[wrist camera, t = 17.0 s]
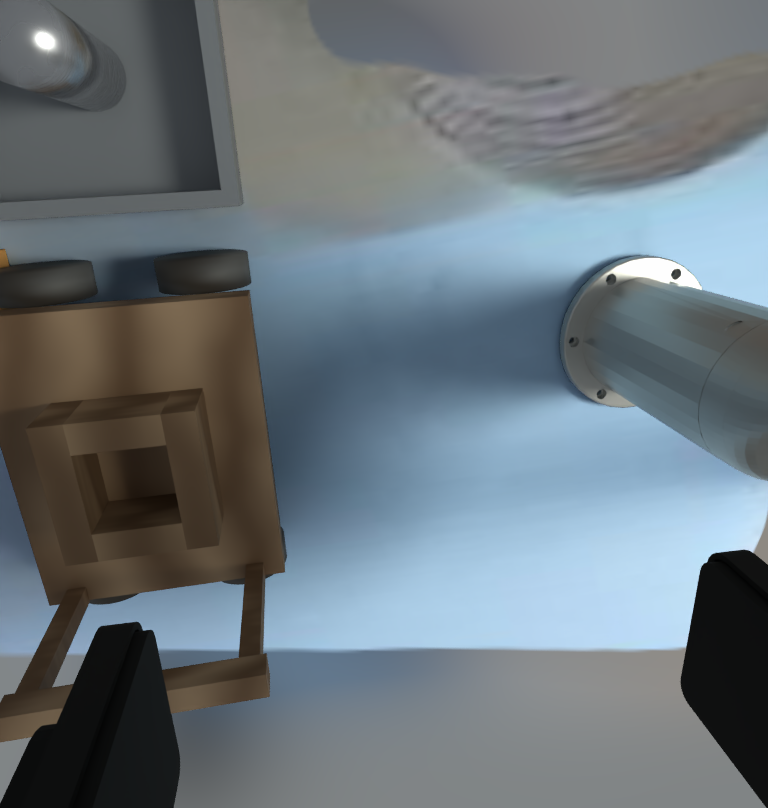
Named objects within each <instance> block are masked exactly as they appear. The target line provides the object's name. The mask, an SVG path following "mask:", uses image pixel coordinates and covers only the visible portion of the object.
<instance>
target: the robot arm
mask: <svg viewBox="0 0 768 808" xmlns="http://www.w3.org/2000/svg"><path fill="white" fill-rule="evenodd" d="M607 276H608V279H607V280H606V278H607ZM571 338H572V339H571ZM570 339H571V341H570V342H569V340H570ZM560 354H561V360H562V363H563V367H564V370H565V372H566V374H567V375H568V377H569V379H570V381H571V382H572V383H573V384H574V386H575V387H576V388H577V389H578V390H579V391H580V392H582V393H583V394H584V395H586V396H587V397H588V398H590V399H592V400H593V401H595V402H597V403H599V404H603V405H606V406H610V407H620V408H626V407H635V406H637V407H639V408H640V409H642V410H643V411H645V412H647V413H648V414H650V415H651V416H653V417H654V418H656V419H657V420H659V421H661V422H662V423H664V424H665V425H667V426H668V427H670V428H671V429H673V430H674V431H676V432H678V433H679V434H681V435H682V436H684V437H685V438H687V439H688V440H690V441H692V442H693V443H695V444H696V445H698V446H699V447H701V448H702V449H704V450H706V451H707V452H709V453H710V454H712V455H713V456H715V457H717V458H718V459H720V460H722V461H723V462H725V463H726V464H728V465H729V466H731V467H733V468H734V469H736V470H738V471H740V472H742V473H744V474H746V475H748V476H751V477H754V478H757V479H760V480H765V481H768V308H767V307H764V306H760V305H756V304H753V303H749V302H745V301H742V300H738V299H734V298H730V297H727V296H723V295H719V294H716V293H712V292H708V291H705V290H703V289H702V287H701V285H700V283H699V282H698V280H697V279H696V278H695V276H694V275H693V274H692V273H691V272H690V271H689V270H687V269H686V268H685V267H684V266H682V265H680V264H678V263H677V262H675V261H673V260H669V259H666V258H662V257H656V256H649V255H643V256H632V257H628V258H625V259H621V260H618V261H616V262H614V263H612V264H610V265H608V266H606V267H604V268H603V269H601V270H600V271H599V272H597V273H596V274H595V275H593V276H592V277H591V278H590V279H589V280H588V281H587V282H586V283H585V284H584V285H583V286H582V287H581V288H580V290H579V291H578V293H577V294H576V296H575V297H574V298H573V300H572V302H571V304H570V306H569V308H568V310H567V312H566V314H565V317H564V321H563V324H562V328H561V335H560ZM681 689H682V692H683V695H684V697H685V699H686V701H687V703H688V704H689V705H690V707H691V708H692V709H693V711H694V712H695V713H696V715H697V716H698V717H699V719H700V720H701V721H702V723H703V724H704V725H705V727H706V728H707V729H708V731H709V732H710V733H711V735H712V736H713V737H714V739H715V740H716V741H717V743H718V744H719V745H720V747H721V748H722V749H723V751H724V752H725V753H726V754H727V756H728V757H729V759H730V760H731V761H732V763H733V764H734V765H735V767H736V768H737V769H738V771H739V772H740V773H741V774H742V776H743V777H744V778H745V780H746V781H747V782H748V784H749V785H750V787H751V788H752V789H753V791H754V792H755V793H756V794H757V796H758V797H759V799H760V800H761V801H762V803H763V804H764V805H765V806H766V808H768V565H767V564H766V563H765V562H764V561H762V560H761V559H760V558H759V557H758V556H756V555H755V554H754V553H752V552H750V551H748V550H737V551H729V552H721V553H715V554H712V555H711V556H710V557H709V559H708V562H707V563H705V564H703V566H702V567H701V570H700V575H699V581H698V586H697V592H696V597H695V603H694V608H693V614H692V619H691V625H690V631H689V636H688V642H687V647H686V653H685V659H684V664H683V669H682V675H681ZM179 774H180V755H179V749H178V744H177V739H176V735H175V729H174V725H173V720H172V715H171V710H170V706H169V701H168V696H167V691H166V686H165V682H164V677H163V672H162V667H161V663H160V658H159V653H158V648H157V643H156V639H155V635H154V632H153V631H152V630H146V631H143V630H142V626H141V625H140V623H139V622H132V623H123V624H115V625H107V626H101V627H99V628H98V630H97V632H96V633H95V636H94V638H93V640H92V643H91V645H90V647H89V650H88V652H87V654H86V656H85V659H84V661H83V664H82V666H81V669H80V670H79V673H78V675H77V677H76V680H75V682H74V684H73V687H72V689H71V691H70V693H69V696H68V698H67V700H66V703H65V705H64V707H63V710H62V712H61V714H60V717H59V719H58V721H57V724H50V725H43V726H41V727H40V728H38V729H37V730H36V731H35V733H34V734H33V736H32V738H31V740H30V741H29V743H28V745H27V747H26V749H25V752H24V754H23V756H22V758H21V760H20V763H19V765H18V767H17V769H16V771H15V773H14V775H13V777H12V779H11V782H10V784H9V786H8V788H7V790H6V792H5V795H4V797H3V799H2V801H1V803H0V808H174V802H175V797H176V792H177V786H178V780H179Z"/></svg>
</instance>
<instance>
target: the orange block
mask: <svg viewBox="0 0 768 808" xmlns="http://www.w3.org/2000/svg"><path fill="white" fill-rule="evenodd" d="M3 267H9V262H8V258H7V255H6V251H5V249H0V268H3ZM7 309H20V308H0V310H7Z"/></svg>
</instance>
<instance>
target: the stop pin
mask: <svg viewBox="0 0 768 808" xmlns="http://www.w3.org/2000/svg"><path fill="white" fill-rule="evenodd" d="M0 81H3V82H5V83H8V84H11V85H14V86H17V87H20V88H23V89H26V90H29V91H32V92H35V93H38V94H41V95H44V96H47V97H50V98H53V99H56V100H59V101H62V102H65V103H68V104H71V105H74V106H77V107H80V108H83V109H86V110H90V111H105V110H108V109H111V108H113V107H114V106H115V105H117V104H118V103H119V102H120V100H121V99H122V97H123V95H124V93H125V89H126V73H125V69H124V66H123V64H122V62H121V60H120V59H119V57H118V56H117V54H116V53H115V52H114V51H113V50H112V49H111V48H110V47H109V46H107V45H106V44H105V43H103V42H102V41H101V40H99V39H98V38H97V37H95V36H94V35H93V34H91V33H90V32H89V31H87V30H86V29H85V28H83V27H82V26H81V25H79V24H78V23H76V22H75V21H74V20H72V19H71V18H70V17H68V16H67V15H66V14H64V13H63V12H62V11H60V10H59V9H58V8H56V7H55V6H54V5H52V4H51V3H50V2H48V1H47V0H0Z"/></svg>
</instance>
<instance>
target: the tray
mask: <svg viewBox="0 0 768 808" xmlns="http://www.w3.org/2000/svg"><path fill="white" fill-rule="evenodd" d="M47 1H48V2H50V3H51V4H52V5H54V6H55V7H56V8H58V9H59V10H60V11H62V12H63V13H64V14H66V15H67V16H68V17H70V18H71V19H72V20H74V21H75V22H76V23H78V24H79V25H81V26H82V27H83V28H85V29H86V30H87V31H89V32H90V33H91V34H93V35H94V36H95V37H97V38H98V39H99V40H101V41H102V42H103V43H105V44H106V45H107V46H109V47H110V48H111V49H112V50H113V51H114V52H115V53H116V54H117V56H118V57H119V59H120V60H121V62H122V64H123V66H124V69H125V73H126V89H125V93H124V95H123V97H122V99H121V100H120V102H119V103H118V104H117V105H115V106H114V107H113V108H111V109H108V110H105V111H90V110H86V109H83V108H80V107H77V106H74V105H71V104H68V103H65V102H62V101H59V100H56V99H53V98H50V97H47V96H44V95H41V94H38V93H35V92H32V91H29V90H26V89H23V88H20V87H17V86H14V85H11V84H8V83H5V82H3V81H0V221H5V220H21V219H37V218H54V217H70V216H86V215H102V214H118V213H135V212H151V211H167V210H183V209H199V208H216V207H232V206H240V205H242V204H243V203H244V202H243V195H242V187H241V179H240V171H239V164H238V156H237V148H236V140H235V133H234V125H233V117H232V109H231V101H230V94H229V86H228V78H227V70H226V63H225V55H224V47H223V39H222V32H221V24H220V16H219V8H218V1H217V0H47Z"/></svg>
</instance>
